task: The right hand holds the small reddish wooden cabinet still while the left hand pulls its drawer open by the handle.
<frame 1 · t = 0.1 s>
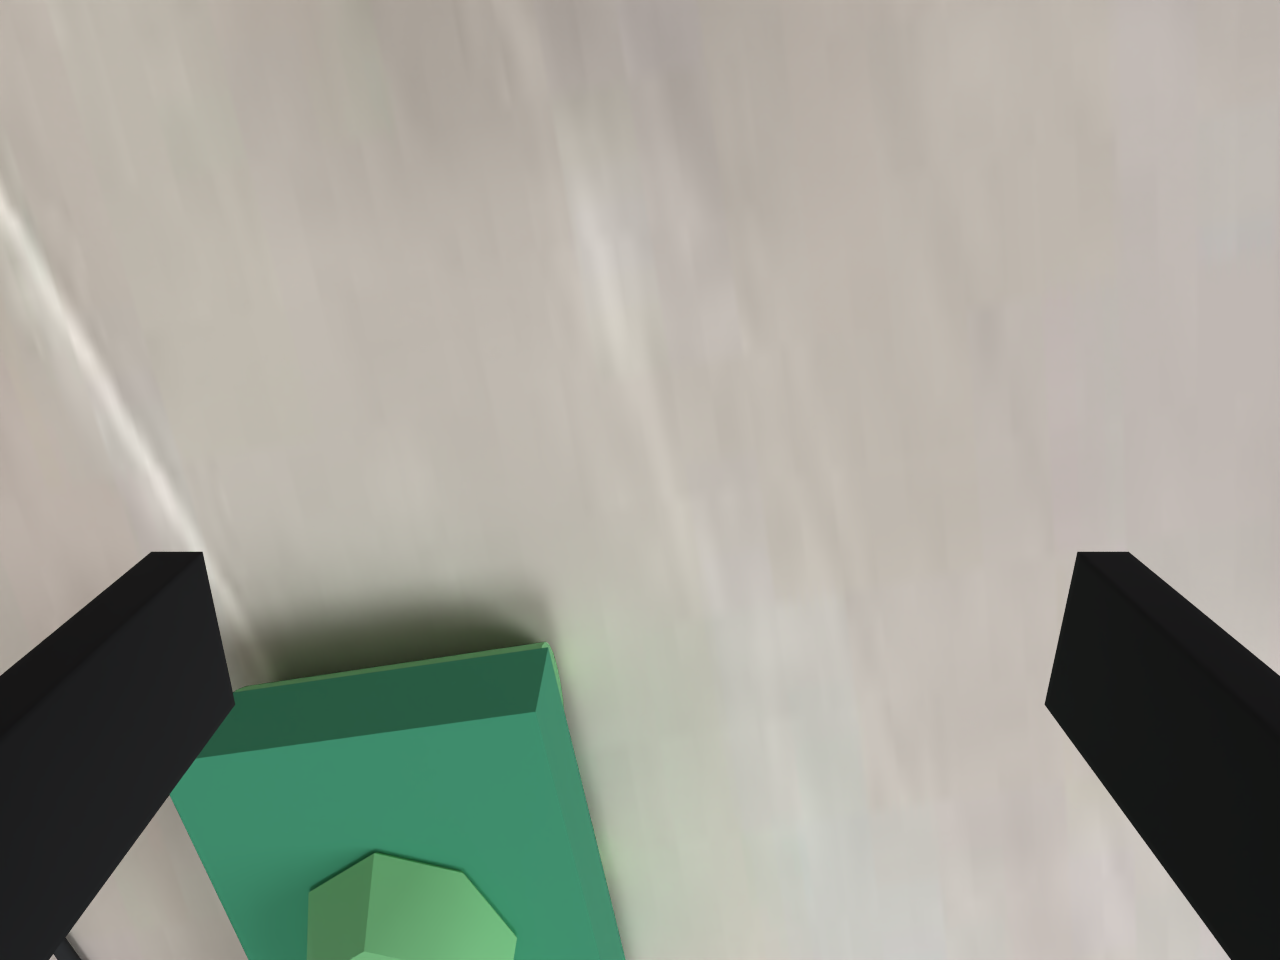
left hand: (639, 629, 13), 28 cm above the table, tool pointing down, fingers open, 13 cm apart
toy tank: (473, 873, 52), on the table
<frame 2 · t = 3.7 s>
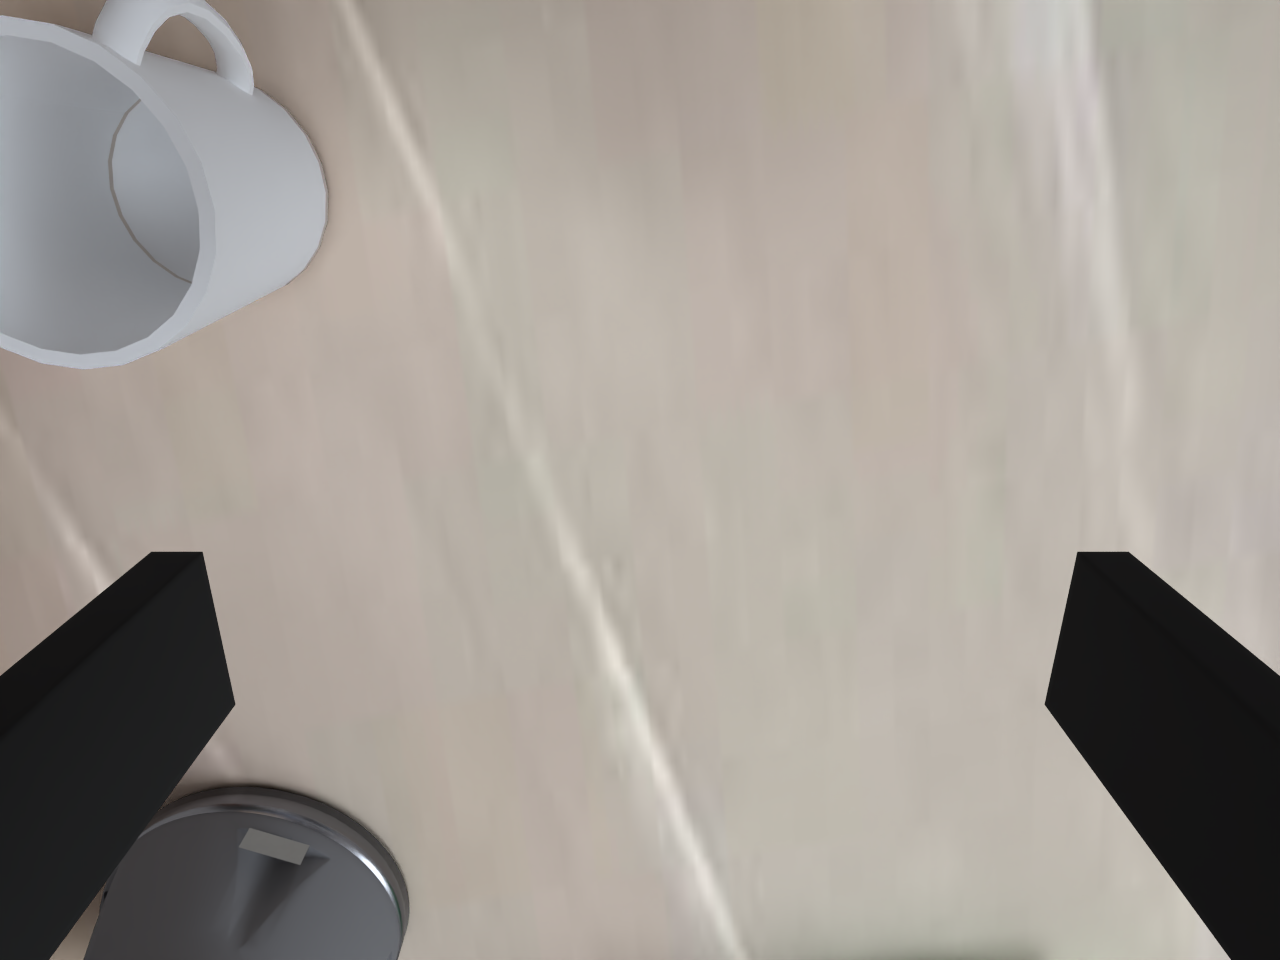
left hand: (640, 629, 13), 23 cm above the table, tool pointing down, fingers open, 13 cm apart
mug: (237, 164, 32), on the table
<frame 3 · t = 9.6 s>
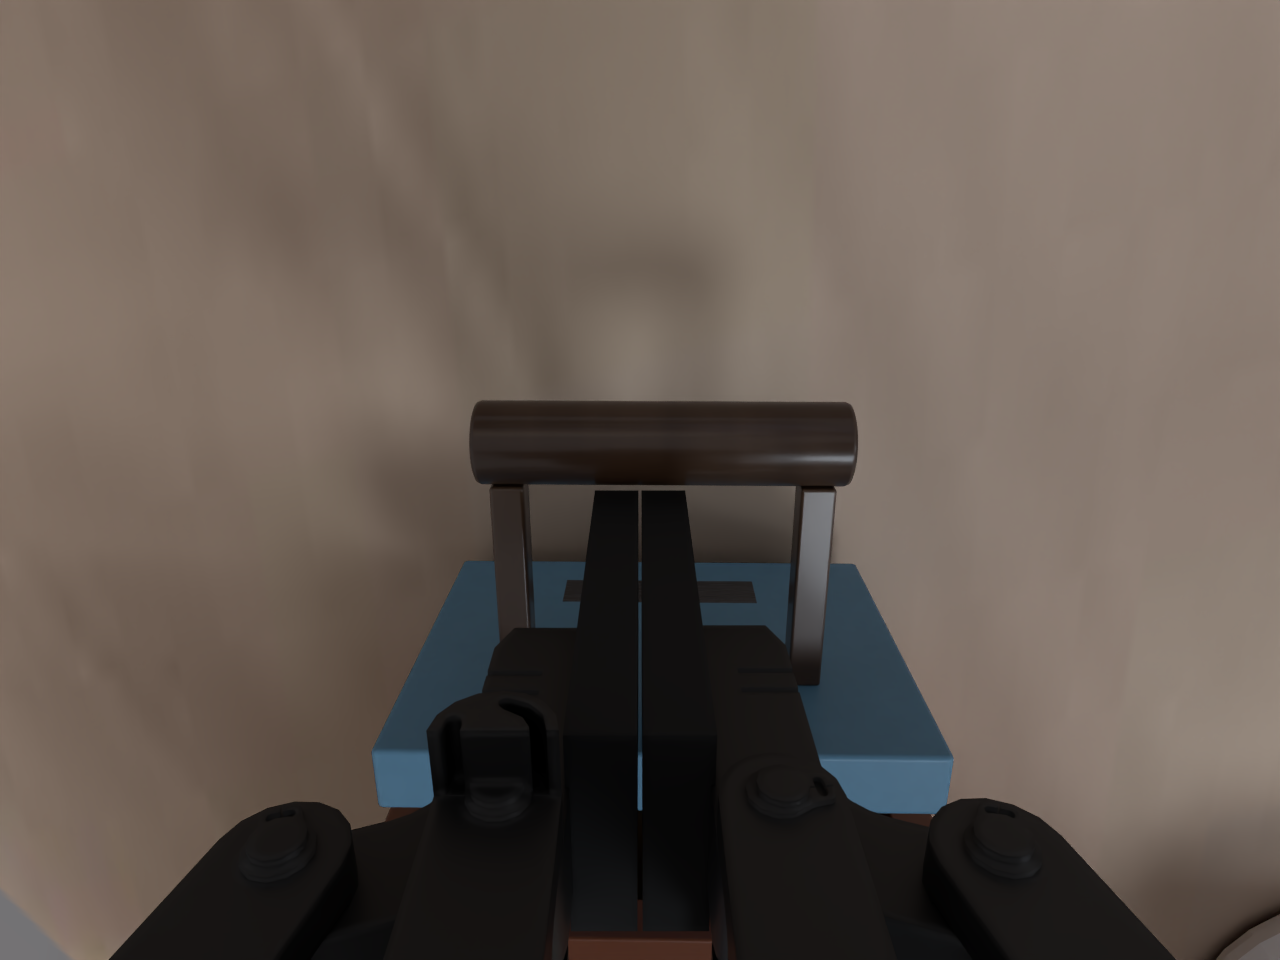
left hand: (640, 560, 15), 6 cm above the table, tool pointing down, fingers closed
drawer: (658, 804, 18), point 5 cm above the table, slide at 1.8 cm
cabinet: (656, 863, 25), on the table, touching right hand
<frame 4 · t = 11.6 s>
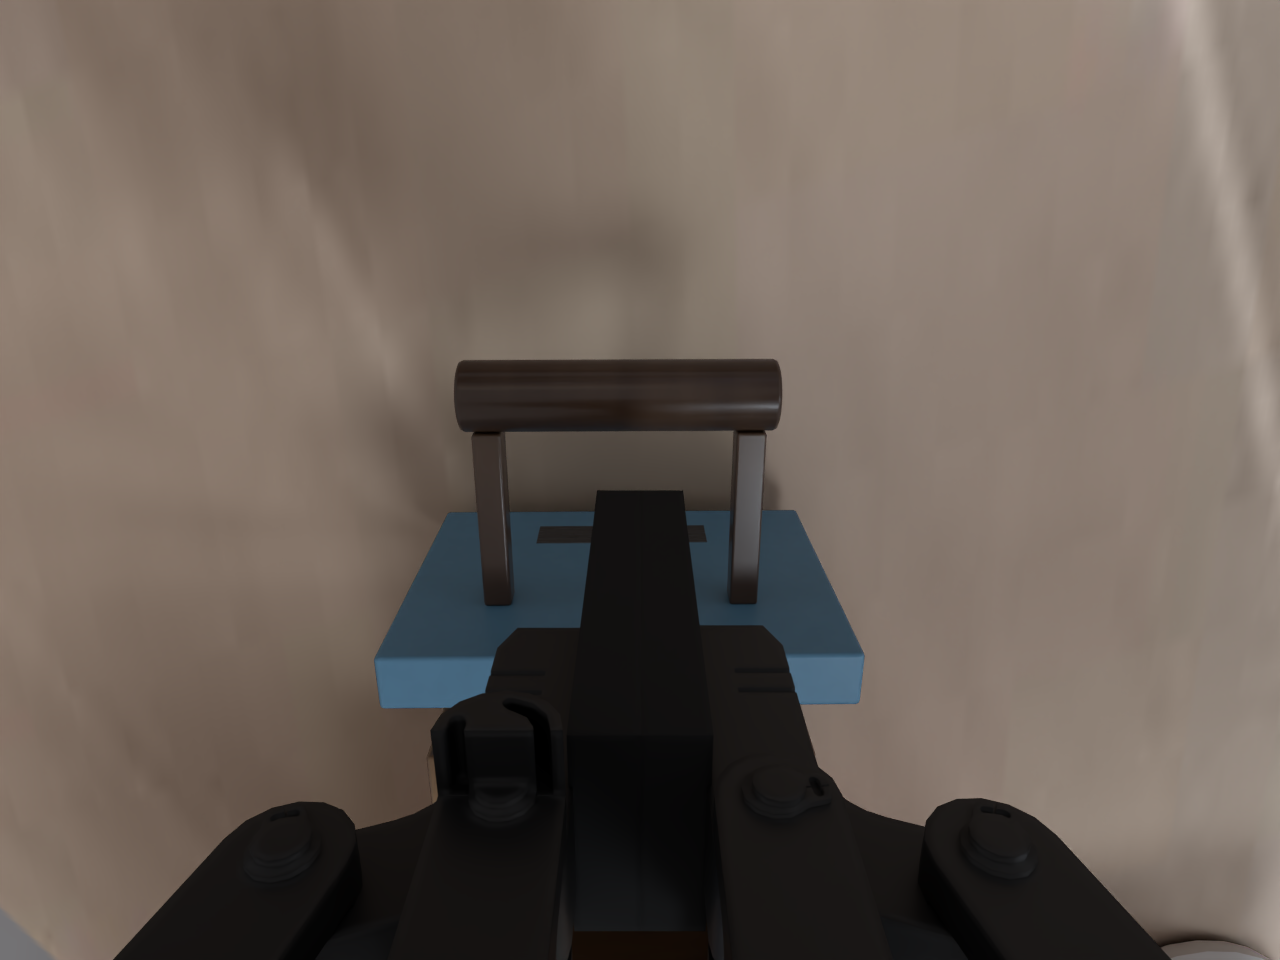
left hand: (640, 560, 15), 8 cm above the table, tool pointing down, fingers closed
drawer: (622, 719, 21), point 4 cm above the table, slide at 7.9 cm
when the right hand's fingers open (4 cm above the table, at t = 12.9 s): cabinet stays where it is, on the table.
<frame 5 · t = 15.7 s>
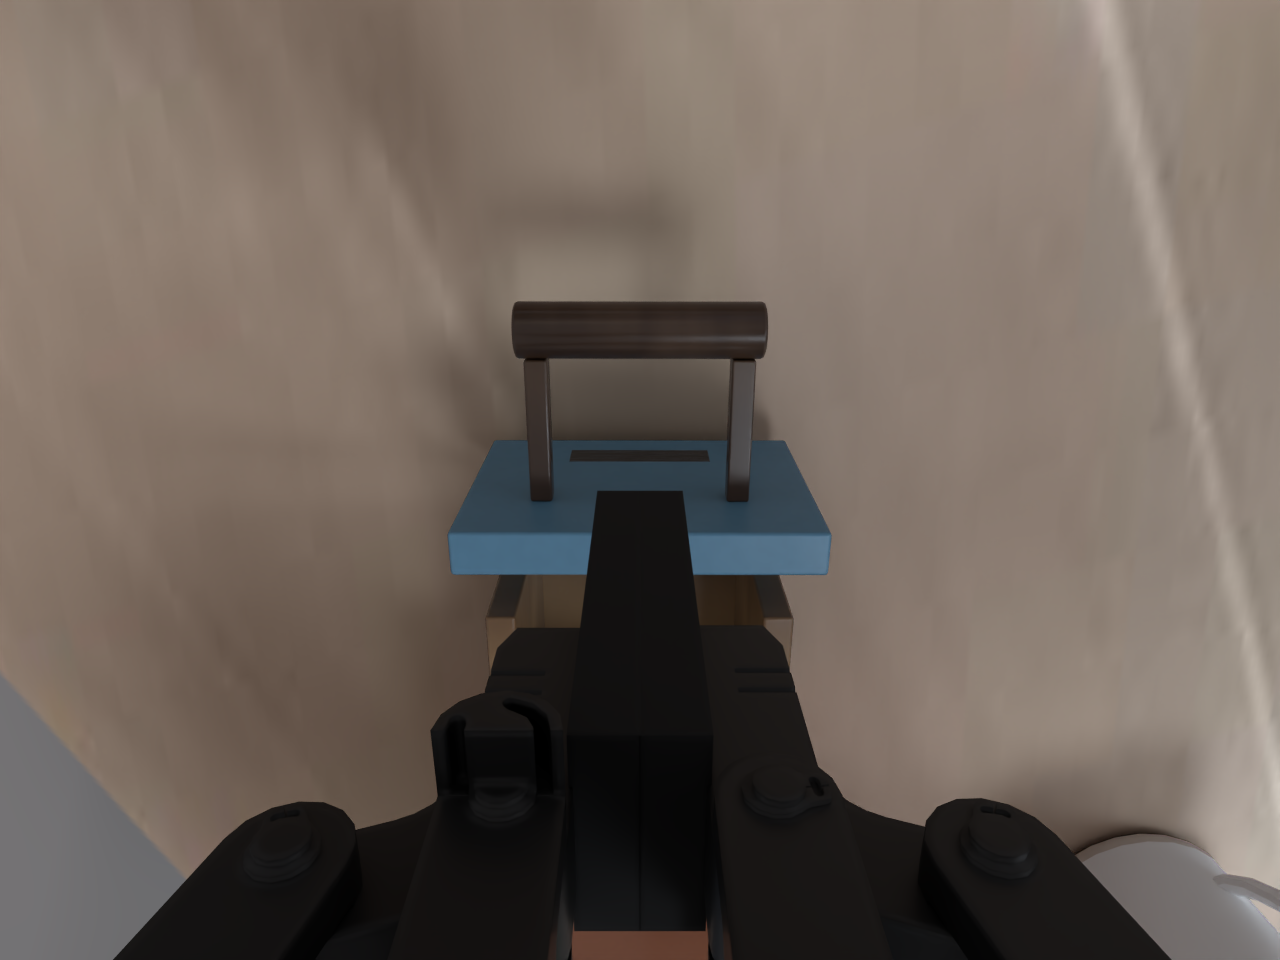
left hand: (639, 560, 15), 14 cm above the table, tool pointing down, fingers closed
drawer: (639, 607, 26), point 5 cm above the table, slide at 7.9 cm
cabinet: (639, 812, 34), on the table
mug: (1139, 883, 36), on the table
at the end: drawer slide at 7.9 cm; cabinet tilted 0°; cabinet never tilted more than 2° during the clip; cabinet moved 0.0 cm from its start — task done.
